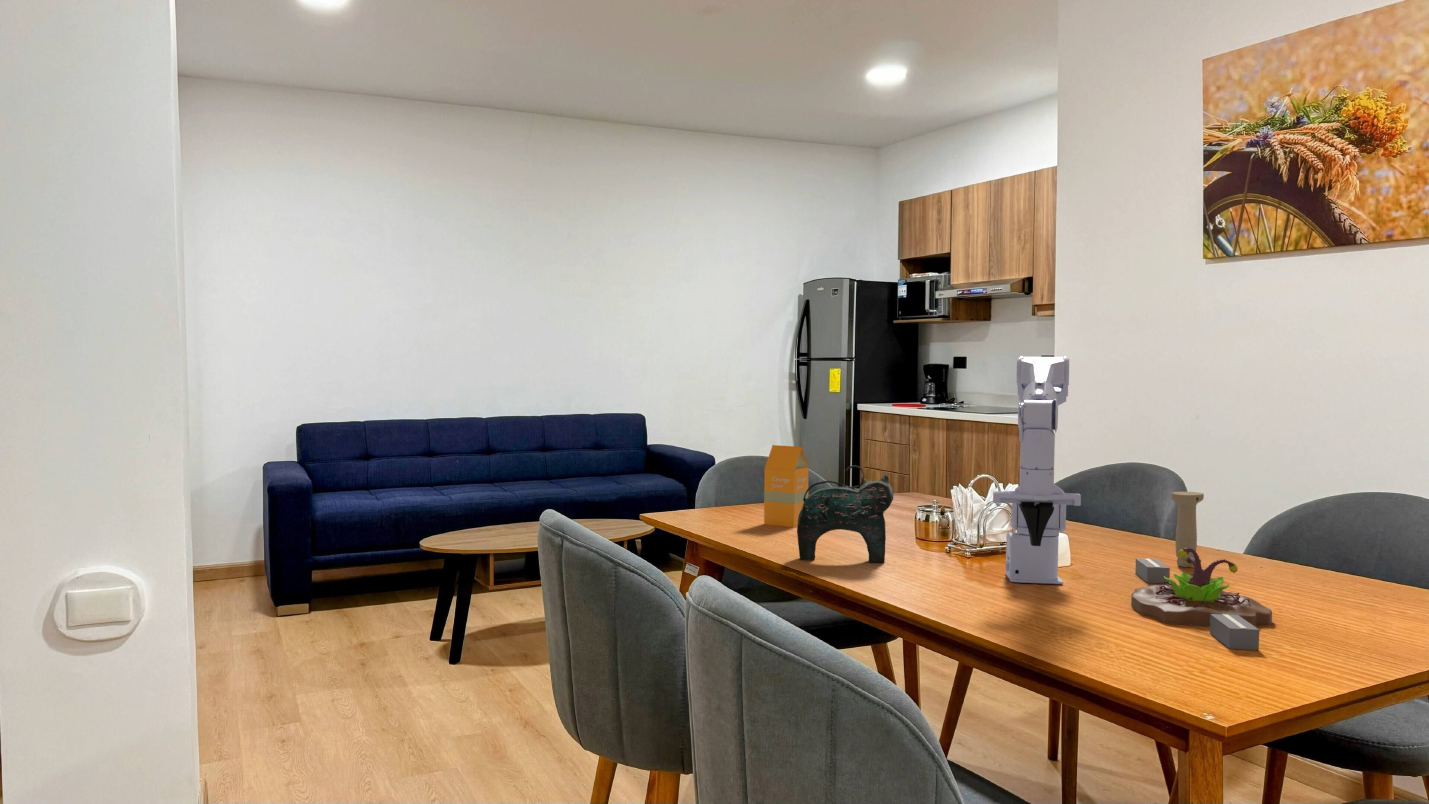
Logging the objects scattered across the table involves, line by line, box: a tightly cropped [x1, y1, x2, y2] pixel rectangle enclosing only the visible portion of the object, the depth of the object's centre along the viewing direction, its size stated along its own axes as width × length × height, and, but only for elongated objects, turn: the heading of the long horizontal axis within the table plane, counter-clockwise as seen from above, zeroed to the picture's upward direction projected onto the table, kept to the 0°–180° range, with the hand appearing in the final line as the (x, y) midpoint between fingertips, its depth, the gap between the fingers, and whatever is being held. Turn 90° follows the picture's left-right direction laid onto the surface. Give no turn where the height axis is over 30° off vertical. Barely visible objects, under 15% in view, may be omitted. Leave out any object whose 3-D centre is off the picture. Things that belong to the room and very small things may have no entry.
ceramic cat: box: [796, 464, 894, 564], centre depth 199 cm, size 20×6×20 cm, turn 80°
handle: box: [1170, 491, 1205, 569], centre depth 194 cm, size 5×6×15 cm
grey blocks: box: [1134, 558, 1260, 651], centre depth 163 cm, size 4×50×3 cm, turn 171°
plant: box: [1130, 548, 1273, 628], centre depth 159 cm, size 20×20×11 cm
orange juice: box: [763, 444, 810, 528], centre depth 244 cm, size 8×9×20 cm
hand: (1035, 545), depth 168 cm, fingers closed
